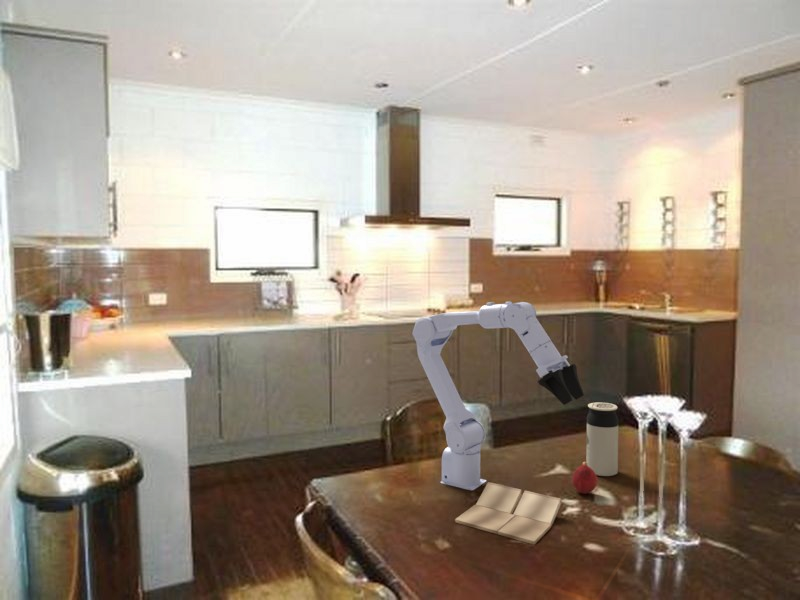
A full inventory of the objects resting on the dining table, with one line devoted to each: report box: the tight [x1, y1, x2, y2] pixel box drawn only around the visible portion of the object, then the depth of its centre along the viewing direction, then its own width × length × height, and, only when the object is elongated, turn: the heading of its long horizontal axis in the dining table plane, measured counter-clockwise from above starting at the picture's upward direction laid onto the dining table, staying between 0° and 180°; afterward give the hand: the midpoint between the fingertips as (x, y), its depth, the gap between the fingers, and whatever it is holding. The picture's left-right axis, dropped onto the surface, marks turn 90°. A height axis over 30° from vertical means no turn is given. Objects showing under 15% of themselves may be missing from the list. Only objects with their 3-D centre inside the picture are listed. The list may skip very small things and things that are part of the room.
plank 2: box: [513, 490, 562, 526], centre depth 129 cm, size 8×7×1 cm
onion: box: [571, 461, 598, 495], centre depth 141 cm, size 6×6×8 cm
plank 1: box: [475, 481, 523, 514], centre depth 134 cm, size 8×7×1 cm
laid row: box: [454, 504, 552, 546], centre depth 125 cm, size 18×9×1 cm, turn 55°
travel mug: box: [585, 401, 619, 477], centre depth 156 cm, size 8×8×18 cm
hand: (574, 400), depth 129 cm, fingers open, 7 cm apart
